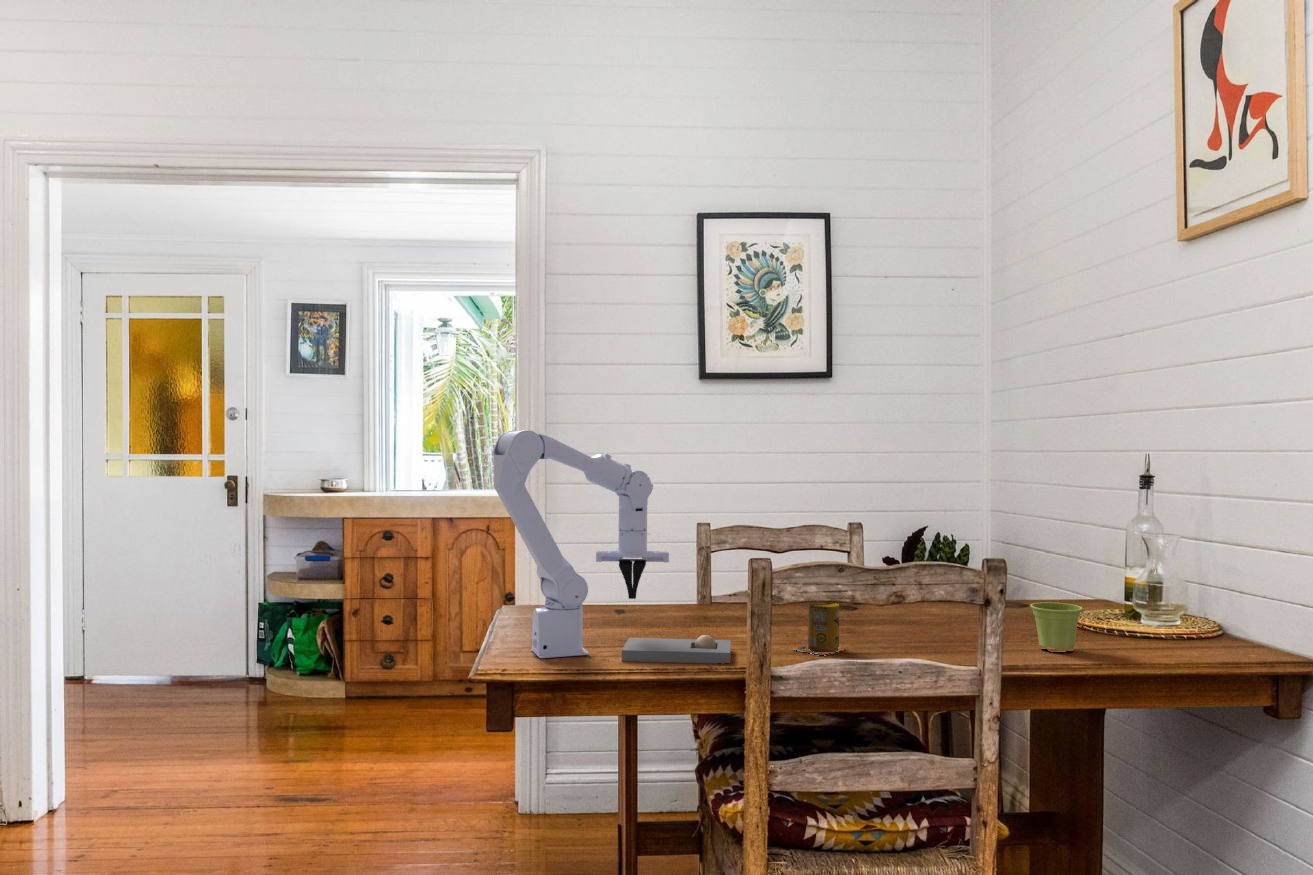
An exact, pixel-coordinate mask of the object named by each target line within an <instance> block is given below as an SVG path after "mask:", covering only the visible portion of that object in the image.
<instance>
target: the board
mask: <svg viewBox="0 0 1313 875" xmlns="http://www.w3.org/2000/svg"><path fill="white" fill-rule="evenodd" d="M697 639H698V638H693V639H692V638H661V637H660V638H659V637H658V638H656V637H654V638H653V637H652V638H651V637H628V638H627V641H626V642H625V644H624V645H623V648H622V649H621V661H622V662H639V663H641V662H642V663H645V662H646V663H647V662H649V663H680V664H681V663H685V664H717V663H722V664H721V665H725V664H724V663H729V664H731V653H732V649H731V648H732V641H731V639H714V640H715V643H716V649H701V648H695V642H696V640H697ZM729 664H728V665H729Z"/></svg>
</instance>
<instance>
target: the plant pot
mask: <svg viewBox="0 0 1313 875" xmlns="http://www.w3.org/2000/svg"><path fill="white" fill-rule="evenodd" d="M1029 605H1030V608H1031V609H1032V612H1033V616H1034V619H1035V625H1036V626H1035V627H1036V632H1037V638H1038V645H1042V646H1044V647H1050V648H1054V649H1073V648H1074V649H1075V642H1076V636H1077V629H1078V628H1077V627H1078V621H1079V618H1080V615H1081V612H1082V611H1083V607H1082V606H1080V605H1077V604H1071V603H1063V602H1051V601H1050V602H1046V601H1045V602H1034V603H1030V604H1029Z"/></svg>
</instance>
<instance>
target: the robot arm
mask: <svg viewBox="0 0 1313 875" xmlns="http://www.w3.org/2000/svg"><path fill="white" fill-rule="evenodd" d="M496 440H497V441H496V443H495V445H494V447H493V449H492V453H491V454H492V457H493V462H494V463H493V486H494V489H495V491H496V494H498V497H499V499H500V500H501V502H502V505H503V506H504V508H505V510H506V511H507V513H508V515H509V517H510V519H511V521H512V522H513V525H514V526H515V528H516V529H517V531H518V533H519V535H520V537H521V539H522V541H523V542H524V544H525V546H526V548H527V550H528V552H529V553H530V556H531V557H532V559H533V561H534V563H535V565H536V574H537V576H538V578H539V583H540V591H541V594H542V595H543V596H544V597H545V602H544V606H542V607H535V608H534V609H533V612H532V618H531V619H532V622H531V623H532V624H531V625H532V626H531V627H532V628H531V631H532V634H531V636H532V637H531V651H532V652H533V653H534V654H535V655H536V657H538V658H539V659H547V658H548V659H549V658H550V659H551V658H560V657H561V658H562V657H563V658H564V657H575V656H587V655H589V651H588V650H586V649H585V648H584V646H583V603H584V602H585V601H586V599H587V597H588V593H589V586H588V583H587V580H586V579H585V578H584V577H583V576H582V575H580V574H579V573H577V572H576V571H575V568H574V566H572V564H571V563H570V562H569V561H568V560H567V559H566V558H565V557H564V556H563V553H562V552H561V551H560V549H559V547H558V545H557V542H556V541H555V539H554V538H553V536H552V534H551V531H550V530H549V528H548V526H547V525H546V522H545V520H544V519H543V517H542V515H541V513H540V511H539V509H538V508H537V506H536V504H535V501H533V499H532V496H531V494H530V493H529V491H528V489H527V488H526V481H527V478H528V476H529V474H530V471H531V470H532V469H533V468H534V466H535V465H536V464H537V463H538V461H539V460H548V459H550V460H553V461H555V462H558V463H561V464H563V465H565V466H568V467H571V468H573V469H575V470H579V471H580V472H583V474H584V476H585V478H586V480H587V481H588V482H590V483H593V484H594V485H596V486H599V487H602V488H604V489H606V490H609V491H611V492H613V493H615V494H616V495H617V497H618V548H617V549H618V550H597V551H596V554H595V562H597V563H602V562H618V568H619V570H620V572H621V575H622V576H623V580H624V582H625V585H626V590H627V594H628V600H636V598H637V591H638V586H639V584H640V580H641V577H642V574H643V572H644V570H645V568H646V565H647V563H669V562H670V551H654V550H648V501H649V500H648V499H649V497H650V495H651V494H652V492H653V489H654V484H653V483H652V481H651V478H650V476H648V475H649V474H647V472H645V471H643V470H635V469H633V470H632V466H631V464H628V463H624V464H623V463H620V462H618V461H617V460H614V459H612V455H611V454H608V453H603V454H602V453H598V454H595V455H594V456H590V455H588V454H585V453H584V452H581V451H579V450H578V449H576V448H573V447H572V446H569V445H567V444H566V443H564V442H561V441H560V440H557V439H555V438H553V437H550V436H548V435H546V434H542V433H537V432H536V431H533V430H529V429H523V430H518V431H517V430H508V431H505V432H503V433H501V435H500V436H499V437H498V438H497V439H496Z"/></svg>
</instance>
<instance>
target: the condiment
mask: <svg viewBox="0 0 1313 875" xmlns="http://www.w3.org/2000/svg"><path fill="white" fill-rule="evenodd" d="M807 604H808V603H807ZM806 647H808V649H810V650H811V651H812V652H813V651H814V652H836V651H838V650H839V648H840V604H839V603H838V604H837V603H827V604H808V605H807V646H806V645H805V646H800V647H795V648H792V650H794V651H796V650H797V652H801V653H803V652H807V650H806V651H805V650H803V651H802V649H805V648H806ZM798 649H799V650H798ZM811 651H808V652H811ZM815 654H818V653H815ZM822 654H823V653H822ZM827 654H828V653H827ZM809 655H813V654H812V653H810V654H809ZM828 655H829V654H828ZM830 655H833V653H831V654H830ZM824 656H826V655H824ZM824 656H823V657H824Z"/></svg>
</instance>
